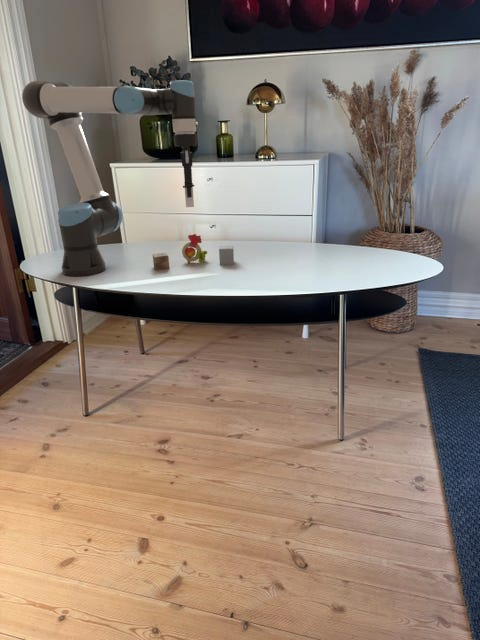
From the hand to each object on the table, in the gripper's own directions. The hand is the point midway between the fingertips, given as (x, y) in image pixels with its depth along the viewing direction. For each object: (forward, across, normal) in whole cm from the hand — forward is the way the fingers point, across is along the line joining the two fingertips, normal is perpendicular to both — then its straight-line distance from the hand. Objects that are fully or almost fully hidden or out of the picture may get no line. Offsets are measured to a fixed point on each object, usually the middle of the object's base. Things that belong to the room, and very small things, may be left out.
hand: (189, 206), depth 165 cm
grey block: (+22, +4, -12) cm, 25 cm away
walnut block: (+22, +3, +12) cm, 25 cm away
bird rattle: (+22, +8, -1) cm, 23 cm away
